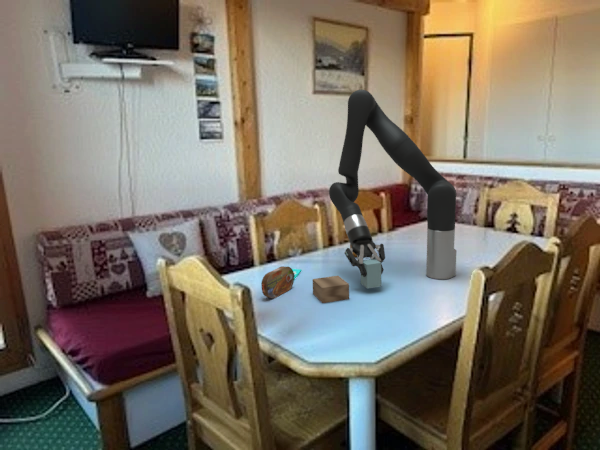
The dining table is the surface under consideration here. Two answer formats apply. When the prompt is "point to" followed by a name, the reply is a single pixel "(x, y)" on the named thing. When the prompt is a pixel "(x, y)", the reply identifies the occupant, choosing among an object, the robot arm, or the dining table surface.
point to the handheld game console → (296, 272)
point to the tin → (277, 282)
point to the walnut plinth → (330, 289)
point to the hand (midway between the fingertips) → (373, 274)
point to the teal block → (372, 273)
